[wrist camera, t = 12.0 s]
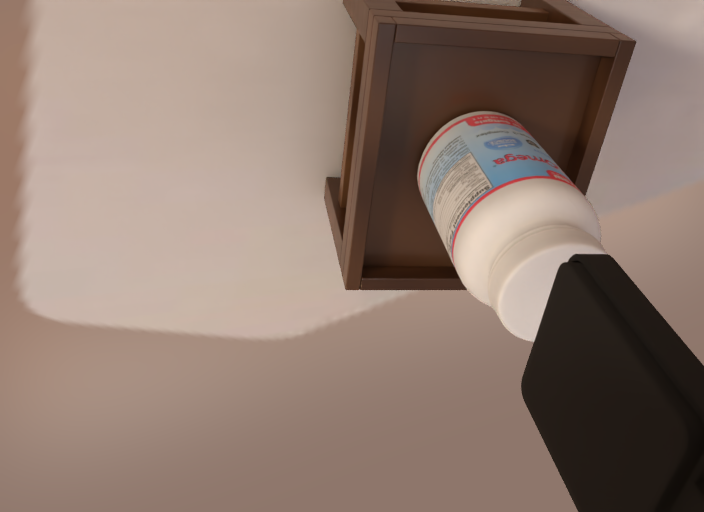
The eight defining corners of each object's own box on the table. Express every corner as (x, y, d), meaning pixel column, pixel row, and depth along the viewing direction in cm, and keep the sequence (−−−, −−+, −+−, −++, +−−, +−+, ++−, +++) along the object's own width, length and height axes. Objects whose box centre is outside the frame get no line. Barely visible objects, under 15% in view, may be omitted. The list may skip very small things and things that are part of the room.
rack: (345, -27, 37) (378, 22, 28) (550, -10, 39) (636, 41, 30) (324, 198, 44) (345, 290, 36) (496, 203, 46) (554, 290, 38)
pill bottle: (554, 140, 34) (673, 264, 25) (482, 232, 37) (566, 376, 27) (460, 84, 32) (552, 199, 22) (390, 187, 34) (448, 328, 25)
